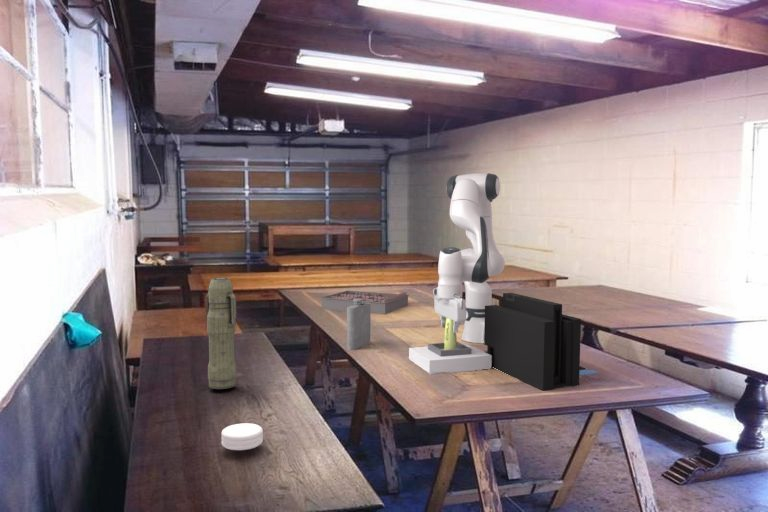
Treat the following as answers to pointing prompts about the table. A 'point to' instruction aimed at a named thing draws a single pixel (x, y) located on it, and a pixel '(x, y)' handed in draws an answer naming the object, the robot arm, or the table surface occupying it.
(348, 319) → the hip flask
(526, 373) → the game console
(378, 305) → the organizer tray
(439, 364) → the white box with hole
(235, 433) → the coaster
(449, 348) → the tube
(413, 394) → the table surface
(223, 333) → the thermos
